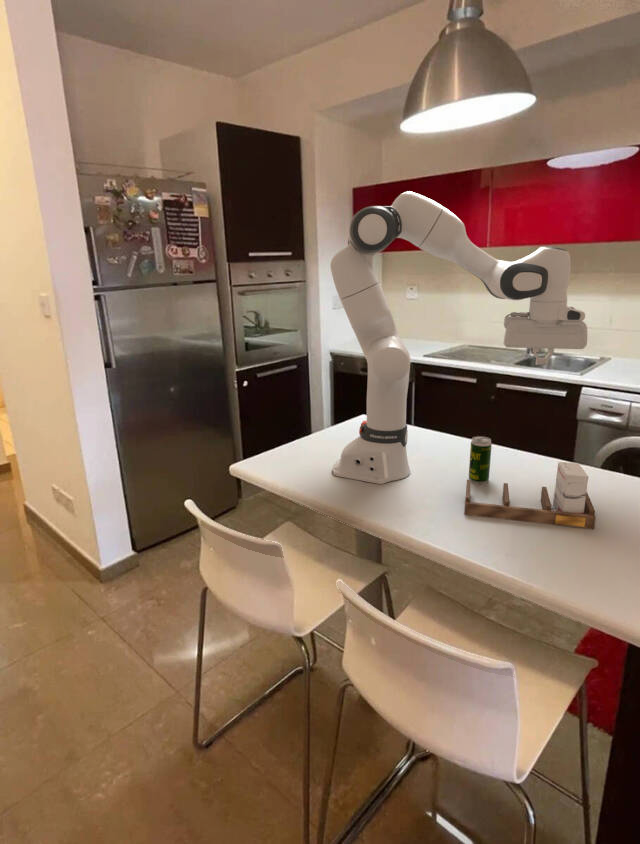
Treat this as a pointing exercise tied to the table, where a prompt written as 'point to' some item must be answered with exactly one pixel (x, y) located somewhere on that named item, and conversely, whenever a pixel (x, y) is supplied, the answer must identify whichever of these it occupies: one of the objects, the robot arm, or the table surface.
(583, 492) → the ink box
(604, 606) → the table surface
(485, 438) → the beer can
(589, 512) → the rack
